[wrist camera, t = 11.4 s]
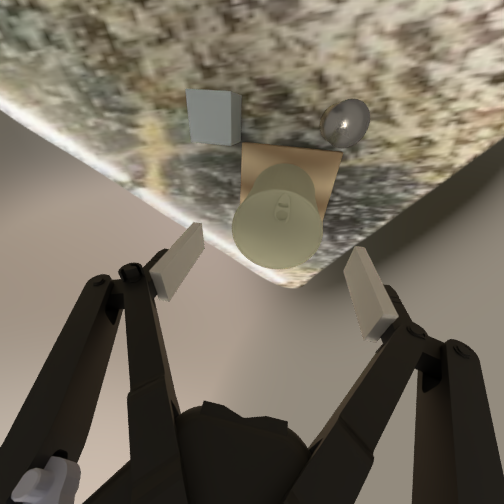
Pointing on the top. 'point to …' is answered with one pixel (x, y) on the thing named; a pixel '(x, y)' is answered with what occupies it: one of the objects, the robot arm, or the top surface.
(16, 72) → the top surface
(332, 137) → the tin
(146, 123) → the top surface
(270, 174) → the can
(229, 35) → the top surface
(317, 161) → the board
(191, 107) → the block gray
